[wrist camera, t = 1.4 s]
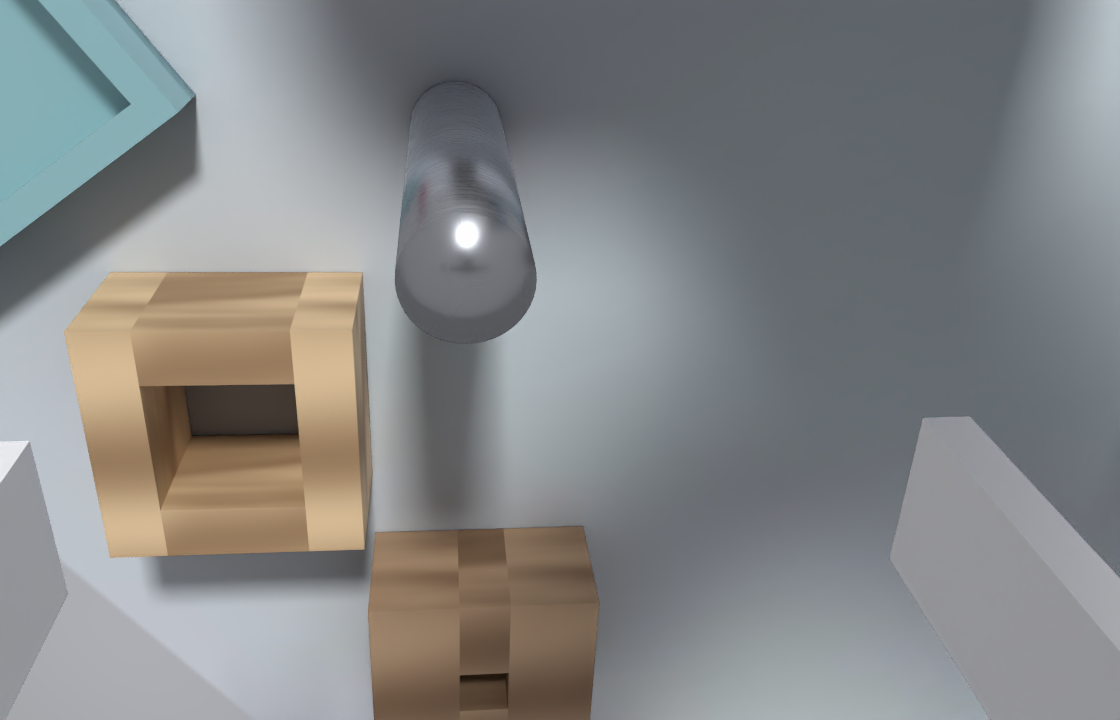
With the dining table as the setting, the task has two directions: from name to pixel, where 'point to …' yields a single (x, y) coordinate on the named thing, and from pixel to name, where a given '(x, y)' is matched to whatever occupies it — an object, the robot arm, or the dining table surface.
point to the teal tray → (72, 99)
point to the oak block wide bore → (230, 460)
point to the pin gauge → (461, 221)
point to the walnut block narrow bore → (482, 624)
